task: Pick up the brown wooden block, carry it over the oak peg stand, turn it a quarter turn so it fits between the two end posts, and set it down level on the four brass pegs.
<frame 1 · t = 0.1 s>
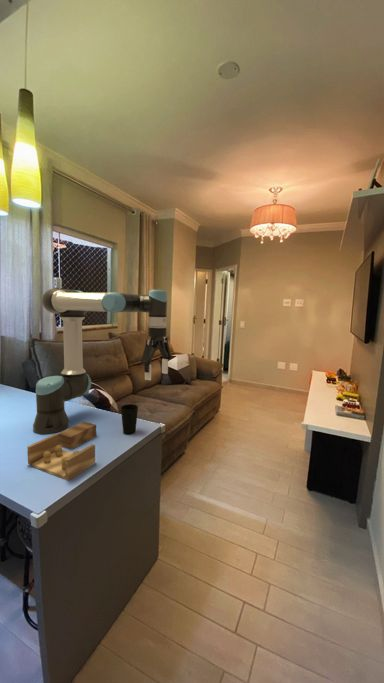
hand: (156, 376, 122), 28 cm above the table, fingers open, 13 cm apart
cup: (129, 432, 131), on the table
brown wooden block: (78, 441, 121), on the table
stand: (62, 464, 103), on the table
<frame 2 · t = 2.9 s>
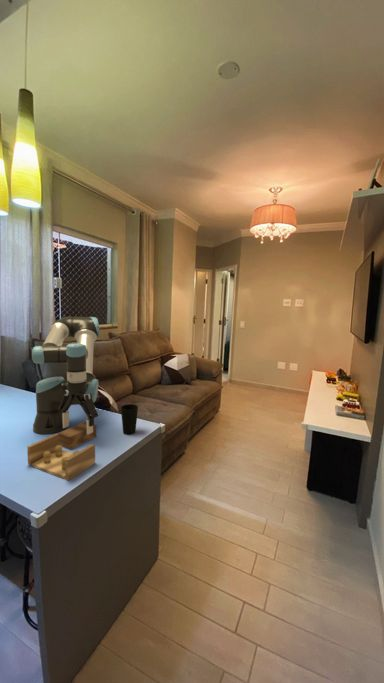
hand: (77, 430, 120), 5 cm above the table, fingers open, 13 cm apart
nothing on the table moved.
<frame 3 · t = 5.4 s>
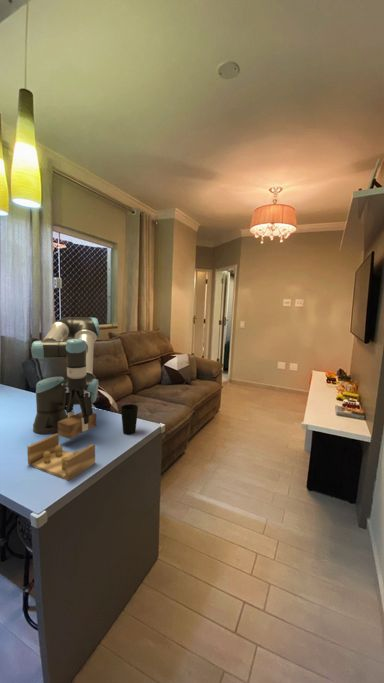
hand: (77, 428, 121), 5 cm above the table, fingers closed on brown wooden block, 7 cm apart
brown wooden block: (77, 429, 121), point 4 cm above the table, touching gripper
everything else where it was.
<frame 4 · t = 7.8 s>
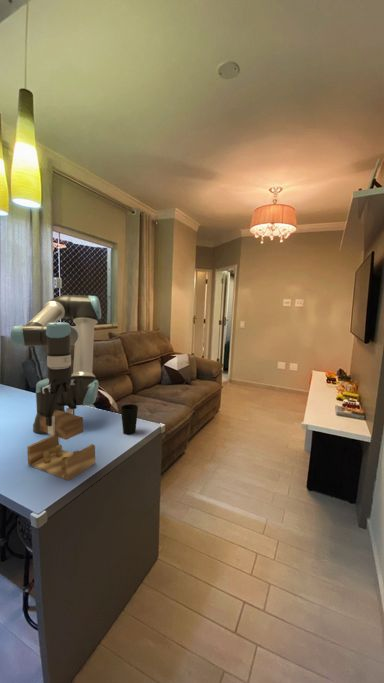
hand: (61, 429, 102), 13 cm above the table, fingers closed on brown wooden block, 7 cm apart
brown wooden block: (61, 431, 102), point 12 cm above the table, touching gripper
everything else where it was.
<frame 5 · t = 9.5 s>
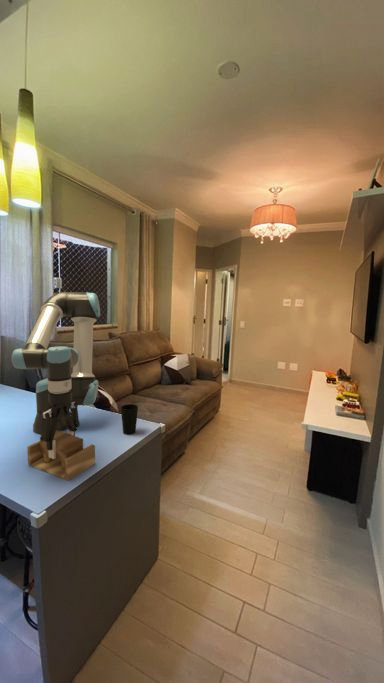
hand: (61, 452, 102), 4 cm above the table, fingers closed on brown wooden block, 7 cm apart
brown wooden block: (61, 452, 102), point 4 cm above the table, touching gripper, stand
everything else where it was.
when the fingers open (4 cm above the table, at t = 10.3 s): brown wooden block stays where it is, resting on stand.
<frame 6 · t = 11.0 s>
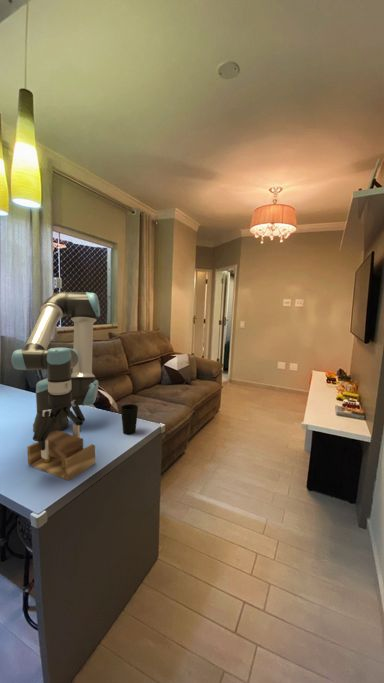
hand: (61, 449, 102), 6 cm above the table, fingers open, 13 cm apart
brown wooden block: (61, 452, 102), point 4 cm above the table, touching stand
everything else where it was.
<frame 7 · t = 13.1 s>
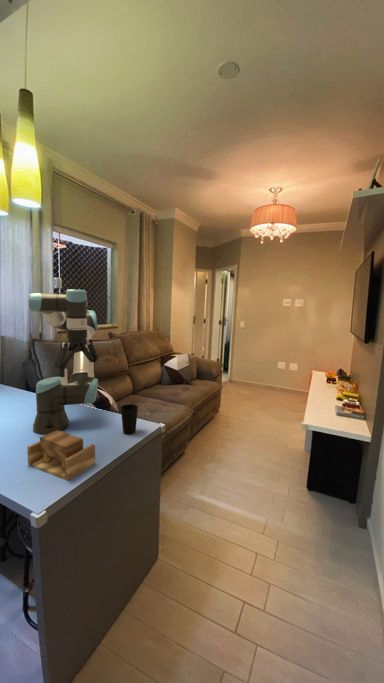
hand: (78, 380, 116), 27 cm above the table, fingers open, 13 cm apart
nothing on the table moved.
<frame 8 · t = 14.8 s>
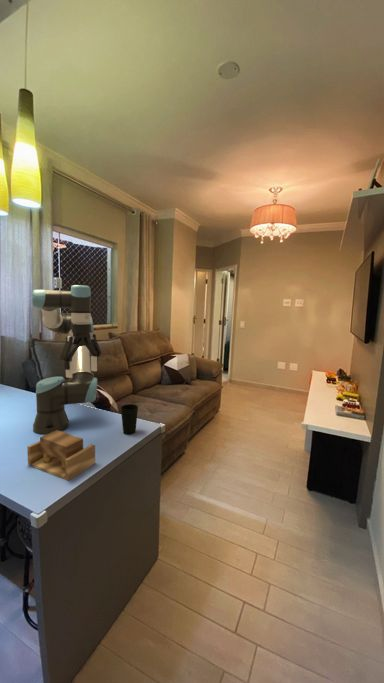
hand: (82, 374, 119), 29 cm above the table, fingers open, 13 cm apart
nothing on the table moved.
at the end: brown wooden block 0.2 cm off-centre on the stand, point 4.5 cm above the stand's base; brown wooden block tilted 0°; the gripper is holding nothing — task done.
